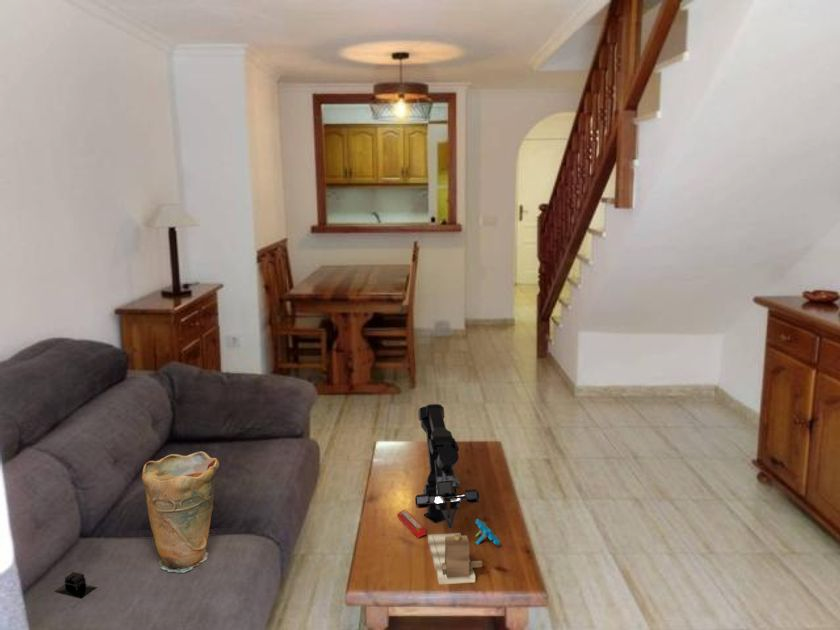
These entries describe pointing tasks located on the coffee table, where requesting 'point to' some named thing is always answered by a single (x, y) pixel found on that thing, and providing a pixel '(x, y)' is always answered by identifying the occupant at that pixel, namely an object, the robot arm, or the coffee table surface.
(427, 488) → the robot arm
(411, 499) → the coffee table surface
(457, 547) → the tan knobbed block
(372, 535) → the coffee table surface
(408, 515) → the candy bar
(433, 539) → the pine board
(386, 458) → the coffee table surface
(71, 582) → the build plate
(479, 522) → the gear
